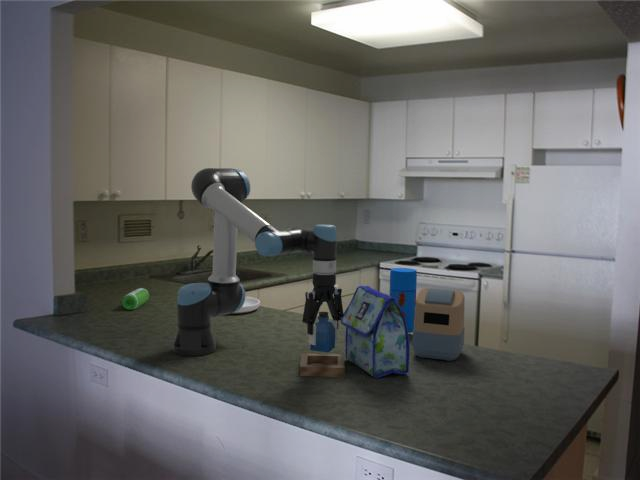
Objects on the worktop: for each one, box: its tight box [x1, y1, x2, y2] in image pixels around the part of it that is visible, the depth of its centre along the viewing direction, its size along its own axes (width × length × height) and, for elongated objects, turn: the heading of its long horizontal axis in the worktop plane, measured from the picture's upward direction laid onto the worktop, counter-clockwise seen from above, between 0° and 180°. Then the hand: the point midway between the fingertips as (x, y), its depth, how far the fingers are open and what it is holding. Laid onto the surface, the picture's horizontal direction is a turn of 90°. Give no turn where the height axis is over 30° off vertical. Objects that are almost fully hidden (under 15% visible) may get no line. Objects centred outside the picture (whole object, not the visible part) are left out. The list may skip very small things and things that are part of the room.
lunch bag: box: [340, 285, 411, 379], centre depth 199 cm, size 22×17×26 cm
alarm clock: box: [412, 287, 465, 362], centre depth 215 cm, size 17×17×23 cm
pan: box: [230, 295, 261, 315], centre depth 287 cm, size 25×44×6 cm, turn 51°
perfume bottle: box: [310, 311, 336, 354], centre depth 197 cm, size 6×6×12 cm
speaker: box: [121, 287, 150, 311], centre depth 283 cm, size 18×7×8 cm, turn 176°
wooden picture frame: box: [299, 353, 346, 378], centre depth 198 cm, size 14×14×3 cm
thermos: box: [388, 267, 418, 334], centre depth 249 cm, size 11×11×25 cm
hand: (322, 341), depth 197 cm, fingers closed on perfume bottle, 8 cm apart
